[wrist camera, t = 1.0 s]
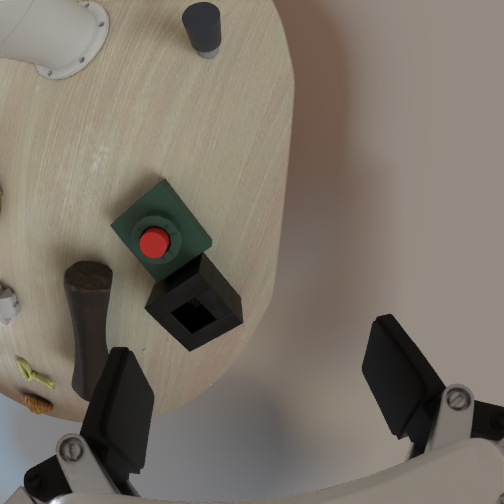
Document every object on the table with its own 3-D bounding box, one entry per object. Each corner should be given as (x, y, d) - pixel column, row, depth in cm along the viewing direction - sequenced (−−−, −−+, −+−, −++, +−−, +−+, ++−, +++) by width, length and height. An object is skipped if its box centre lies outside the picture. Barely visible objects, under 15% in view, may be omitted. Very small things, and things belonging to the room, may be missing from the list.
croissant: (27, 400, 50) (21, 412, 46) (16, 386, 48) (10, 398, 43) (59, 411, 52) (54, 424, 47) (48, 396, 49) (42, 410, 44)
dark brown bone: (120, 378, 48) (119, 251, 41) (134, 415, 40) (131, 280, 33) (72, 381, 42) (56, 250, 34) (79, 421, 34) (51, 280, 26)
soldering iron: (190, 48, 26) (175, 14, 16) (212, 35, 25) (207, -4, 15) (204, 66, 27) (194, 36, 17) (227, 53, 26) (227, 18, 16)
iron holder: (154, 284, 38) (144, 308, 32) (202, 251, 36) (198, 272, 31) (193, 325, 41) (189, 351, 36) (240, 297, 40) (243, 323, 34)
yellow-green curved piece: (58, 384, 47) (55, 390, 45) (25, 376, 46) (22, 381, 44) (45, 363, 44) (42, 369, 42) (13, 355, 43) (9, 361, 41)
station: (116, 220, 34) (104, 230, 30) (165, 178, 32) (157, 184, 28) (161, 275, 37) (155, 289, 34) (212, 239, 36) (210, 252, 32)
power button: (138, 237, 31) (134, 242, 29) (157, 221, 31) (154, 226, 29) (155, 256, 32) (151, 263, 31) (174, 242, 32) (171, 248, 30)
